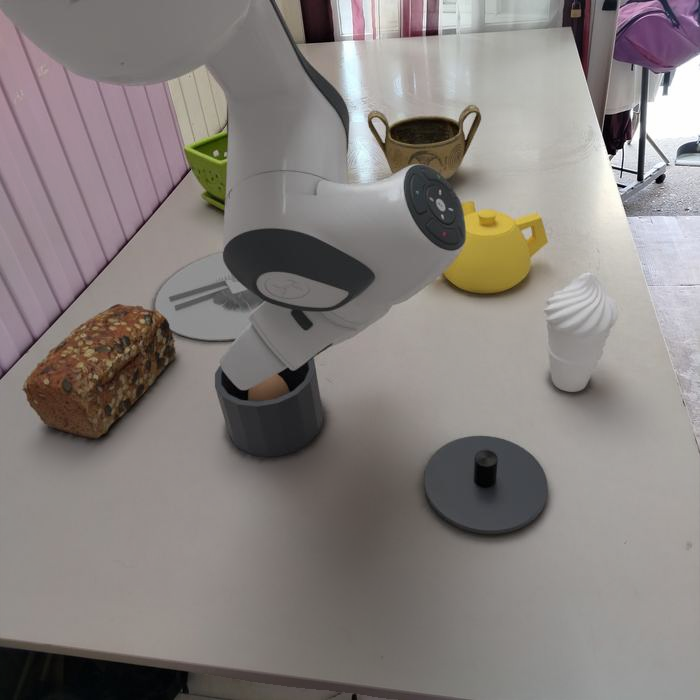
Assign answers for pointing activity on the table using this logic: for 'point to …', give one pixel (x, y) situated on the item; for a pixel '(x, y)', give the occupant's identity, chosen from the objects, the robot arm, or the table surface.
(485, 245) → the teapot
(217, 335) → the plate
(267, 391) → the egg
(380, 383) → the table surface
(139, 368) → the bread
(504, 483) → the lid
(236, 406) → the pot
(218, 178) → the flower pot
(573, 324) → the ice cream cone
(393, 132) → the ceramic bowl
